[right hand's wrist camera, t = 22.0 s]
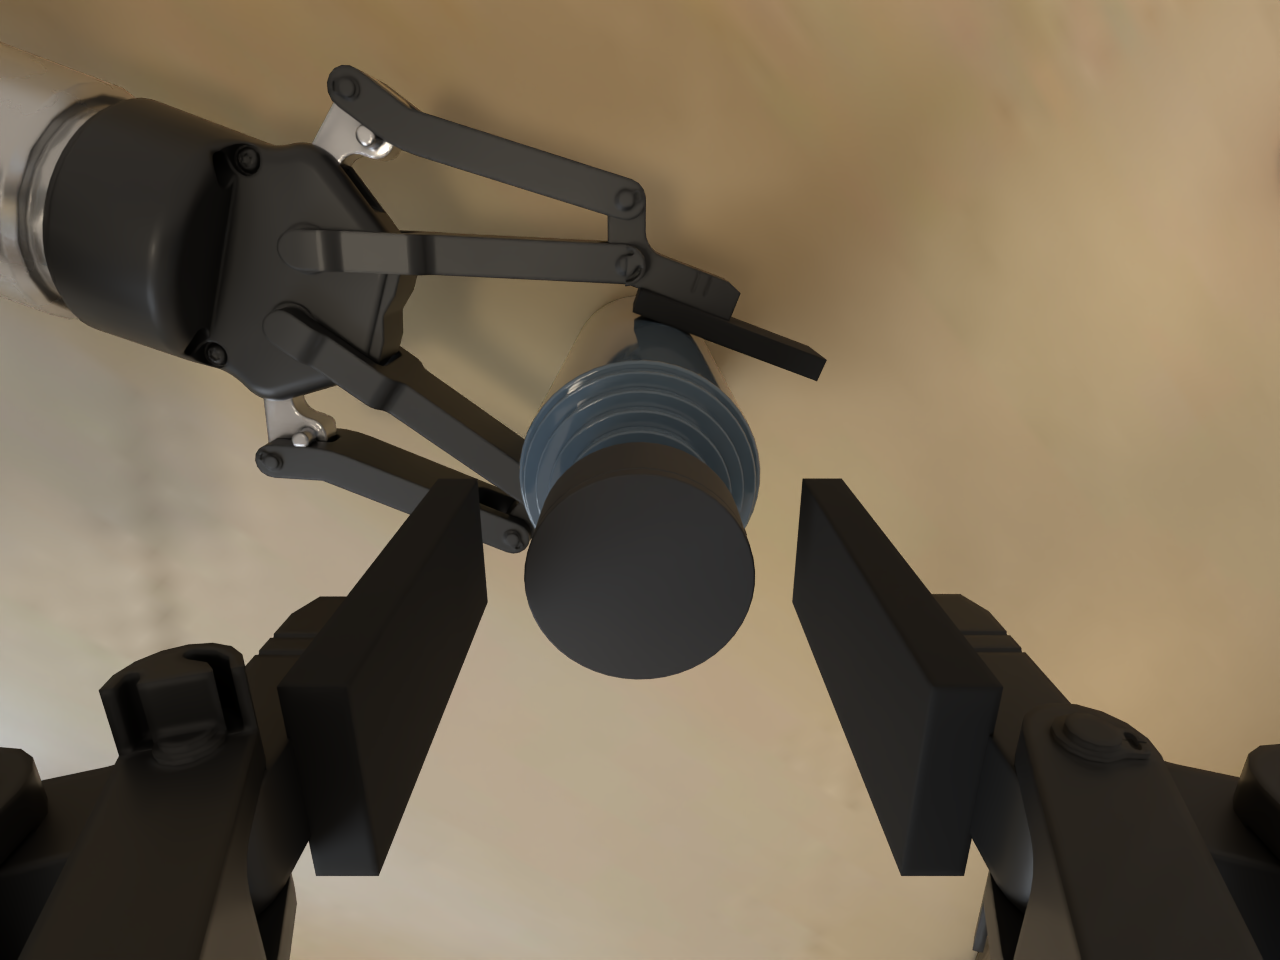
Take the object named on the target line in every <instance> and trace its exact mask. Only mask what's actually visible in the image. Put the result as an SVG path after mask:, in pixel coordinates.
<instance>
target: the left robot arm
mask: <svg viewBox="0 0 1280 960" xmlns="http://www.w3.org/2000/svg"><path fill="white" fill-rule="evenodd" d="M327 87H328V93H329V95H330V97H331V100H332V101H333V102H334V103H333V105H332V106H331V108H330V110H329V112H328V114H327V116H326V118H325V120H324V122H323V124H322V125H321V127H320V129H319V131H318V133H317V135H316V137H315V139H314V141H313V143H312V144H310V143H294V144H288V145H280V146H276V145H272V144H269V143H266V142H264V141H261V140H259V139H256V138H253V137H251V136H248V135H245V134H243V133H240V132H237V131H235V130H232V129H229V128H227V127H224V126H222V125H219V124H216V123H214V122H211V121H208V120H206V119H203V118H200V117H198V116H195V115H192V114H190V113H187V112H184V111H182V110H179V109H177V108H174V107H171V106H169V105H166V104H163V103H161V102H158V101H155V100H152V99H146V98H135V97H134V96H132V95H131V94H130V93H129V92H127V91H126V90H125V89H123V88H121V87H119V86H116V85H113V84H111V83H108V82H105V81H103V80H100V79H97V78H95V77H92V76H89V75H87V74H84V73H81V72H79V71H76V70H73V69H71V68H68V67H66V66H63V65H60V64H58V63H55V62H52V61H50V60H47V59H44V58H42V57H39V56H36V55H34V54H31V53H28V52H26V51H23V50H20V49H18V48H15V47H13V46H10V45H7V44H5V43H2V42H0V297H3V298H6V299H9V300H12V301H14V302H17V303H20V304H23V305H26V306H29V307H31V308H34V309H37V310H40V311H43V312H45V313H48V314H51V315H55V316H59V317H63V318H66V319H79V320H81V321H82V322H84V323H85V324H87V325H88V326H90V327H93V328H95V329H97V330H100V331H103V332H106V333H109V334H112V335H115V336H118V337H121V338H124V339H127V340H130V341H133V342H136V343H139V344H142V345H145V346H148V347H151V348H154V349H157V350H160V351H163V352H165V353H168V354H171V355H174V356H177V357H180V358H183V359H186V360H189V361H193V362H196V363H200V364H204V365H208V366H211V367H215V368H219V369H221V370H224V371H226V372H228V373H229V374H231V375H233V376H234V377H235V378H237V379H238V380H239V381H240V382H242V383H243V384H244V385H245V386H246V387H247V388H248V389H249V390H250V391H251V392H253V393H254V394H256V395H257V396H259V397H262V398H264V405H265V414H266V422H267V431H268V440H269V443H268V444H266V445H265V446H263V447H261V448H260V449H259V450H258V451H257V453H256V457H255V461H256V464H257V467H258V468H259V469H260V471H261V472H262V473H264V474H266V475H267V476H270V477H274V478H289V479H305V480H321V481H325V482H328V483H330V484H333V485H335V486H338V487H341V488H343V489H346V490H348V491H351V492H353V493H356V494H359V495H361V496H364V497H366V498H369V499H371V500H374V501H377V502H379V503H382V504H384V505H387V506H389V507H392V508H395V509H397V510H400V511H402V512H405V513H407V514H411V513H412V512H413V511H414V509H415V508H416V507H417V505H418V504H419V503H420V502H421V500H422V499H423V498H424V496H425V495H426V494H427V493H428V491H429V490H430V489H431V487H432V486H433V485H434V484H435V482H436V481H437V480H438V479H476V478H473V477H471V476H468V475H466V474H463V473H461V472H458V471H456V470H453V469H451V468H448V467H446V466H443V465H441V464H438V463H436V462H433V461H431V460H428V459H426V458H423V457H421V456H418V455H416V454H413V453H411V452H408V451H406V450H403V449H401V448H398V447H396V446H393V445H391V444H388V443H386V442H383V441H381V440H378V439H376V438H373V437H371V436H368V435H365V434H362V433H359V432H355V431H351V430H347V429H339V428H336V422H335V420H334V418H333V417H331V416H329V415H326V414H325V413H321V412H318V411H315V410H314V409H312V408H311V407H310V406H309V405H308V404H307V402H306V400H305V398H304V395H305V394H309V393H312V392H316V391H319V390H323V389H326V388H329V387H333V386H336V385H338V386H339V387H341V388H342V389H344V390H345V391H347V392H348V393H350V394H351V395H353V396H354V397H356V398H357V399H358V400H360V401H361V402H363V403H364V404H366V405H368V406H369V407H371V408H374V409H378V410H383V411H386V412H388V413H390V414H391V415H393V416H394V417H396V418H397V419H398V420H400V421H401V422H403V423H404V424H406V425H407V426H409V427H410V428H412V429H413V430H415V431H416V432H417V433H419V434H420V435H422V436H423V437H425V438H426V439H428V440H429V441H431V442H432V443H434V444H435V445H437V446H438V447H439V448H441V449H442V450H444V451H445V452H447V453H448V454H450V455H451V456H453V457H454V458H456V459H457V460H458V461H460V462H461V463H463V464H464V465H466V466H467V467H469V468H470V469H472V470H473V471H475V472H476V473H477V474H479V475H480V476H482V477H483V478H485V479H486V480H488V481H489V482H491V483H492V484H494V485H495V486H493V485H491V484H488V483H486V482H483V481H481V480H478V479H477V481H478V493H479V505H480V517H481V529H482V541H483V543H485V544H487V545H490V546H492V547H495V548H498V549H500V550H503V551H505V552H509V553H519V552H521V551H523V550H525V548H526V547H527V546H528V544H529V541H530V539H531V538H532V537H533V534H534V531H535V528H534V527H533V525H532V523H531V521H530V519H529V517H528V514H527V512H526V509H525V507H524V503H523V499H522V495H521V490H520V480H519V469H520V458H521V452H522V447H523V444H524V441H525V439H523V438H522V437H520V436H519V435H517V434H516V433H515V432H513V431H512V430H510V429H509V428H508V427H506V426H505V425H503V424H502V423H500V422H499V421H498V420H496V419H495V418H493V417H492V416H491V415H489V414H488V413H486V412H485V411H484V410H482V409H481V408H479V407H478V406H476V405H475V404H474V403H472V402H471V401H469V400H468V399H467V398H465V397H464V396H462V395H461V394H459V393H458V392H457V391H455V390H454V389H452V388H451V387H450V386H448V385H447V384H445V383H444V382H442V381H441V380H440V379H438V378H437V377H435V376H434V375H433V374H431V373H430V372H428V371H427V370H426V369H425V368H424V367H423V365H422V363H421V362H420V361H419V360H418V359H417V358H416V357H415V356H413V355H412V354H410V353H409V352H408V351H406V350H405V349H403V348H402V347H401V346H400V343H401V339H402V335H403V307H404V306H405V304H406V302H407V300H408V299H409V297H410V295H411V293H412V292H413V290H414V286H415V282H416V278H417V275H448V276H468V277H489V278H510V279H530V280H551V281H571V282H592V283H612V284H625V286H630V285H631V286H633V287H636V288H638V291H637V294H636V297H635V299H634V302H633V313H636V314H638V315H641V316H644V317H646V318H649V319H652V320H654V321H657V322H660V323H662V324H665V325H668V326H671V327H673V328H676V329H679V330H681V331H684V332H687V333H689V334H692V335H695V336H697V337H700V338H703V339H705V340H708V341H711V342H713V343H716V344H719V345H721V346H724V347H727V348H729V349H732V350H735V351H737V352H740V353H743V354H746V355H748V356H751V357H754V358H756V359H759V360H762V361H764V362H767V363H770V364H772V365H775V366H778V367H780V368H783V369H786V370H788V371H791V372H794V373H796V374H799V375H802V376H804V377H807V378H810V379H813V380H815V381H817V380H818V378H819V376H820V374H821V371H822V369H823V367H824V365H825V363H826V361H827V360H826V359H825V358H823V357H822V356H821V355H819V354H818V353H817V352H815V351H814V350H813V349H812V348H810V347H809V346H807V345H804V344H801V343H799V342H796V341H793V340H791V339H788V338H786V337H783V336H780V335H778V334H775V333H772V332H770V331H767V330H764V329H762V328H759V327H756V326H754V325H751V324H749V323H746V322H743V321H741V320H738V319H735V318H733V317H731V316H732V313H733V311H734V308H735V306H736V303H737V301H738V298H739V296H740V292H739V291H738V290H737V289H735V288H734V287H733V286H732V285H731V284H730V283H729V282H728V281H727V280H725V279H724V278H721V277H719V276H716V275H713V274H711V273H708V272H706V271H703V270H700V269H698V268H695V267H693V266H690V265H687V264H685V263H682V262H680V261H677V260H674V259H672V258H669V257H667V256H664V255H661V254H659V253H658V252H656V251H655V250H653V249H652V248H651V246H650V245H649V243H648V241H647V238H646V196H645V193H644V189H643V188H642V187H641V186H640V184H639V183H637V182H636V181H634V180H632V179H629V178H626V177H623V176H620V175H617V174H614V173H611V172H608V171H604V170H601V169H598V168H595V167H592V166H589V165H586V164H583V163H579V162H576V161H573V160H570V159H567V158H564V157H561V156H557V155H554V154H551V153H548V152H545V151H542V150H539V149H536V148H532V147H529V146H526V145H523V144H520V143H517V142H514V141H511V140H507V139H504V138H501V137H498V136H495V135H492V134H489V133H486V132H482V131H479V130H476V129H473V128H470V127H467V126H464V125H461V124H457V123H454V122H451V121H448V120H445V119H442V118H439V117H436V116H432V115H429V114H426V113H423V112H421V111H420V110H419V109H417V108H416V107H415V106H413V105H412V104H411V103H410V102H408V101H407V100H406V99H404V98H403V97H402V96H400V95H399V94H398V93H397V92H395V91H394V90H393V89H391V88H390V87H389V86H387V85H386V84H384V83H382V82H381V81H379V80H377V79H375V78H373V77H371V76H370V75H368V74H366V73H364V72H362V71H360V70H358V69H356V68H354V67H352V66H350V65H341V66H338V67H336V68H334V69H333V71H332V72H331V73H330V74H329V78H328V81H327ZM401 150H403V151H406V152H409V153H411V154H414V155H417V156H420V157H423V158H426V159H429V160H432V161H436V162H439V163H442V164H445V165H448V166H451V167H455V168H458V169H461V170H464V171H467V172H471V173H474V174H477V175H480V176H483V177H487V178H490V179H493V180H496V181H499V182H503V183H506V184H509V185H512V186H515V187H518V188H522V189H525V190H528V191H531V192H534V193H538V194H541V195H544V196H547V197H550V198H554V199H557V200H560V201H563V202H566V203H569V204H573V205H576V206H579V207H582V208H585V209H589V210H592V211H595V212H598V213H601V214H605V215H608V241H595V240H575V239H554V238H534V237H514V236H494V235H474V234H454V233H442V232H422V231H402V230H399V229H398V228H397V227H396V225H395V224H394V223H393V221H392V220H391V219H390V217H389V216H388V215H387V213H386V212H385V211H384V209H383V208H382V207H381V205H380V204H379V203H378V201H377V200H376V199H375V197H374V196H373V195H372V193H371V192H370V191H369V189H368V188H367V187H366V185H365V184H364V183H363V181H362V180H361V178H360V177H359V176H358V174H357V173H356V172H355V170H354V169H353V168H352V166H351V165H352V164H353V163H354V161H355V160H357V159H358V158H360V157H364V156H366V157H369V158H371V159H376V160H380V161H390V160H393V159H395V158H396V157H397V156H398V155H399V154H400V152H401ZM496 486H497V487H496ZM744 530H745V529H744ZM745 533H746V531H745ZM746 535H747V534H746Z"/></svg>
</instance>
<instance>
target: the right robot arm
mask: <svg viewBox="0 0 1280 960" xmlns="http://www.w3.org/2000/svg"><path fill="white" fill-rule="evenodd" d="M487 602H488V600H487V588H486V577H485V565H484V553H483V541H482V529H481V517H480V505H479V493H478V481H477V479H438V480H437V481H436V482H435V484H434V485H433V486H432V487H431V489H430V490H429V491H428V493H427V494H426V495H425V496H424V498H423V499H422V500H421V502H420V503H419V504H418V505H417V507H416V508H415V509H414V511H413V512H412V513H411V514H410V516H409V517H408V518H407V520H406V521H405V522H404V523H403V525H402V526H401V527H400V529H399V530H398V531H397V532H396V534H395V535H394V536H393V538H392V539H391V540H390V541H389V543H388V544H387V545H386V547H385V548H384V549H383V551H382V552H381V553H380V554H379V556H378V557H377V558H376V560H375V561H374V562H373V563H372V565H371V566H370V567H369V569H368V570H367V571H366V572H365V574H364V575H363V576H362V578H361V579H360V580H359V581H358V583H357V584H356V585H355V587H354V588H353V589H352V590H351V592H350V593H349V594H348V596H347V597H319V598H317V599H315V600H314V601H312V602H310V603H309V604H307V605H305V606H304V607H302V608H300V609H299V610H297V611H295V612H294V613H292V614H291V615H290V616H289V617H288V619H287V620H286V621H285V622H284V623H283V624H282V625H281V626H280V628H279V629H278V630H277V631H276V632H275V633H274V638H270V639H269V640H268V641H267V642H266V643H265V645H264V646H263V647H262V648H261V649H260V650H259V655H255V656H254V657H253V658H252V659H251V660H250V662H249V663H248V664H247V665H246V666H245V664H244V660H243V655H242V654H241V653H240V652H239V651H237V650H236V649H235V648H233V647H232V646H227V645H222V644H216V643H203V644H188V645H184V646H180V647H176V648H172V649H168V650H163V651H160V652H158V653H155V654H153V655H150V656H148V657H145V658H143V659H140V660H138V661H135V662H134V663H132V664H131V665H129V666H127V667H126V668H124V669H123V670H121V671H119V672H118V673H116V674H114V675H113V676H112V677H111V678H110V679H109V680H108V681H107V682H106V683H105V684H104V685H103V687H102V688H101V689H100V690H99V693H100V696H101V699H102V702H103V706H104V709H105V712H106V715H107V718H108V722H109V725H110V728H111V731H112V734H113V738H114V741H115V744H116V747H117V750H118V754H119V757H118V759H117V761H116V763H115V765H112V766H108V767H104V768H99V769H95V770H90V771H85V772H80V773H76V774H71V775H66V776H61V777H56V778H52V779H47V780H42V781H41V779H40V776H39V773H38V770H37V768H36V765H35V762H34V760H33V757H32V756H30V755H29V754H27V753H26V752H24V751H23V750H22V749H15V748H3V747H0V960H289V959H290V951H291V944H292V936H293V929H294V921H295V913H296V906H297V901H296V893H295V887H294V882H293V878H292V871H293V869H294V867H295V865H296V863H297V861H298V860H299V858H300V856H301V854H302V852H303V850H304V848H305V846H306V845H307V843H308V841H309V844H310V849H311V854H312V859H313V864H314V868H315V873H316V876H379V874H380V871H381V869H382V866H383V864H384V861H385V859H386V856H387V854H388V851H389V849H390V846H391V844H392V841H393V839H394V836H395V834H396V831H397V828H398V826H399V823H400V821H401V818H402V816H403V813H404V811H405V808H406V806H407V803H408V801H409V798H410V796H411V793H412V791H413V788H414V786H415V783H416V781H417V778H418V776H419V773H420V771H421V768H422V766H423V763H424V761H425V758H426V756H427V753H428V751H429V748H430V746H431V743H432V741H433V738H434V736H435V733H436V731H437V728H438V725H439V723H440V720H441V718H442V715H443V713H444V710H445V708H446V705H447V703H448V700H449V698H450V695H451V693H452V690H453V688H454V685H455V683H456V680H457V678H458V675H459V673H460V670H461V668H462V665H463V663H464V660H465V658H466V655H467V653H468V650H469V648H470V645H471V643H472V640H473V638H474V635H475V633H476V630H477V628H478V625H479V622H480V620H481V617H482V615H483V612H484V610H485V607H486V605H487ZM792 602H793V605H794V607H795V610H796V612H797V615H798V617H799V620H800V622H801V625H802V628H803V630H804V633H805V635H806V638H807V640H808V643H809V645H810V648H811V650H812V653H813V655H814V658H815V660H816V663H817V665H818V668H819V670H820V673H821V675H822V678H823V680H824V683H825V685H826V688H827V690H828V693H829V695H830V698H831V700H832V703H833V705H834V708H835V710H836V713H837V715H838V718H839V720H840V723H841V726H842V728H843V731H844V733H845V736H846V738H847V741H848V743H849V746H850V748H851V751H852V753H853V756H854V758H855V761H856V763H857V766H858V768H859V771H860V773H861V776H862V778H863V781H864V783H865V786H866V788H867V791H868V793H869V796H870V798H871V801H872V803H873V806H874V808H875V811H876V813H877V816H878V818H879V821H880V823H881V826H882V829H883V831H884V834H885V836H886V839H887V841H888V844H889V846H890V849H891V851H892V854H893V856H894V859H895V861H896V864H897V866H898V869H899V871H900V874H901V876H964V873H965V868H966V864H967V859H968V854H969V849H970V844H971V840H972V839H973V841H974V843H975V845H976V846H977V848H978V850H979V852H980V854H981V856H982V858H983V860H984V861H985V863H986V865H987V867H988V869H989V873H988V878H987V882H986V887H985V891H984V895H983V900H982V904H981V909H980V913H979V918H978V922H977V927H976V931H975V937H974V944H973V950H974V951H978V955H977V957H976V960H1280V744H1274V745H1263V746H1259V747H1258V748H1256V749H1255V750H1253V751H1252V752H1251V753H1249V754H1248V757H1247V759H1246V762H1245V765H1244V768H1243V770H1242V773H1241V776H1240V777H1235V776H1230V775H1225V774H1220V773H1216V772H1211V771H1206V770H1201V769H1196V768H1192V767H1187V766H1182V765H1177V764H1173V763H1169V762H1166V761H1164V760H1163V758H1162V756H1161V754H1160V753H1159V752H1158V750H1157V749H1156V748H1155V747H1154V745H1153V744H1152V743H1151V742H1150V740H1149V739H1148V738H1147V737H1145V736H1144V735H1143V734H1141V733H1140V732H1138V731H1137V730H1136V729H1134V728H1133V727H1132V726H1130V725H1129V724H1127V723H1125V722H1123V721H1121V720H1119V719H1117V718H1115V717H1113V716H1111V715H1108V714H1106V713H1104V712H1102V711H1098V710H1095V709H1091V708H1087V707H1084V706H1080V705H1077V704H1071V703H1070V702H1069V701H1068V700H1067V699H1066V698H1065V696H1064V695H1063V694H1062V693H1061V692H1060V691H1059V690H1058V689H1057V688H1056V686H1055V685H1054V684H1053V683H1052V682H1051V681H1050V680H1049V679H1048V677H1047V676H1046V675H1045V674H1044V673H1043V672H1042V671H1041V670H1040V668H1039V667H1038V666H1037V665H1036V664H1035V663H1034V662H1033V661H1032V659H1031V658H1030V657H1029V656H1028V655H1027V654H1026V653H1025V652H1022V651H1021V647H1020V646H1019V645H1018V644H1017V643H1016V641H1015V640H1014V639H1013V638H1012V637H1011V636H1010V635H1007V631H1006V630H1005V629H1004V628H1003V627H1002V626H1001V625H1000V623H999V622H998V621H997V620H996V619H995V618H994V617H993V616H992V614H991V613H990V612H989V611H987V610H986V609H984V608H982V607H981V606H979V605H977V604H976V603H974V602H972V601H971V600H969V599H967V598H966V597H964V596H962V595H961V594H931V593H930V592H929V590H928V589H927V588H926V587H925V585H924V584H923V583H922V581H921V580H920V579H919V578H918V576H917V575H916V574H915V572H914V571H913V570H912V569H911V567H910V566H909V565H908V563H907V562H906V561H905V560H904V558H903V557H902V556H901V554H900V553H899V552H898V551H897V549H896V548H895V547H894V545H893V544H892V543H891V542H890V540H889V539H888V538H887V536H886V535H885V534H884V533H883V531H882V530H881V529H880V527H879V526H878V525H877V523H876V522H875V521H874V520H873V518H872V517H871V516H870V514H869V513H868V512H867V511H866V509H865V508H864V507H863V505H862V504H861V503H860V502H859V500H858V499H857V498H856V496H855V495H854V494H853V493H852V491H851V490H850V489H849V487H848V486H847V485H846V484H845V482H844V481H843V480H842V479H803V481H802V493H801V505H800V517H799V529H798V541H797V553H796V564H795V576H794V588H793V600H792ZM987 936H988V937H987ZM986 938H987V939H986Z"/></svg>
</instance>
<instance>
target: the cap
mask: <svg viewBox="0 0 1280 960" xmlns="http://www.w3.org/2000/svg"><path fill="white" fill-rule="evenodd" d="M524 582H525V591H526V596H527V600H528V604H529V607H530V609H531V612H532V614H533V616H534V619H535V620H536V622H537V624H538V625H539V627H540V629H541V630H542V632H543V633H544V634H545V635H546V637H547V638H548V639H549V641H550V642H551V643H552V644H553V645H554V646H555V647H556V648H557V649H558V650H560V651H561V652H562V653H563V654H565V655H566V656H567V657H569V658H570V659H572V660H573V661H575V662H577V663H578V664H580V665H582V666H584V667H586V668H588V669H591V670H593V671H595V672H599V673H602V674H605V675H608V676H613V677H618V678H625V679H654V678H661V677H667V676H670V675H674V674H678V673H681V672H683V671H686V670H689V669H691V668H693V667H695V666H697V665H699V664H701V663H703V662H705V661H706V660H708V659H709V658H710V657H712V656H713V655H715V654H716V653H717V652H718V651H719V650H721V649H722V648H723V647H724V646H725V645H726V644H727V643H728V642H729V641H730V640H731V638H732V637H733V636H734V635H735V634H736V632H737V631H738V629H739V628H740V626H741V625H742V623H743V621H744V619H745V617H746V615H747V613H748V610H749V607H750V604H751V601H752V598H753V592H754V586H755V567H754V559H753V555H752V552H751V548H750V544H749V541H748V539H747V536H746V533H745V530H744V527H743V524H742V521H741V518H740V515H739V512H738V509H737V506H736V504H735V501H734V499H733V497H732V495H731V493H730V491H729V490H728V488H727V487H726V485H725V483H724V482H723V481H722V480H721V479H720V477H719V476H718V475H717V474H716V473H715V472H714V471H713V470H712V469H711V468H710V467H708V466H707V465H706V464H705V463H703V462H702V461H700V460H699V459H697V458H696V457H694V456H692V455H690V454H688V453H686V452H684V451H682V450H679V449H676V448H674V447H671V446H667V445H662V444H658V443H648V442H630V443H623V444H617V445H613V446H609V447H606V448H602V449H600V450H598V451H595V452H593V453H591V454H589V455H587V456H585V457H584V458H582V459H580V460H579V461H577V462H576V463H575V464H574V465H572V466H571V467H570V468H569V469H567V470H566V471H565V472H564V473H563V475H562V476H561V477H560V478H559V479H558V480H557V481H556V483H555V484H554V486H553V487H552V488H551V490H550V492H549V494H548V496H547V498H546V500H545V502H544V505H543V508H542V510H541V513H540V516H539V519H538V522H537V525H536V528H535V531H534V534H533V537H532V540H531V543H530V546H529V549H528V552H527V557H526V562H525V573H524Z"/></svg>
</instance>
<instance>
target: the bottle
mask: <svg viewBox="0 0 1280 960" xmlns="http://www.w3.org/2000/svg"><path fill="white" fill-rule="evenodd" d="M635 297H636V296H630V297H624V298H621V299H618V300H615V301H613V302H610V303H608V304H606V305H605V306H603V307H602V308H600V309H599V310H598V311H597V312H595V313H594V314H593V315H592V316H591V317H590V318H589V319H588V321H587V322H586V323H585V325H584V326H583V328H582V329H581V331H580V333H579V335H578V337H577V339H576V341H575V342H574V344H573V346H572V348H571V350H570V352H569V354H568V356H567V358H566V359H565V361H564V363H563V365H562V367H561V369H560V371H559V373H558V374H557V376H556V378H555V380H554V382H553V384H552V386H551V388H550V390H549V391H548V393H547V395H546V397H545V399H544V401H543V403H542V405H541V407H540V408H539V410H538V412H537V414H536V416H535V418H534V420H533V422H532V424H531V426H530V428H529V430H528V432H527V435H526V438H525V441H524V444H523V447H522V452H521V458H520V469H519V480H520V490H521V495H522V499H523V503H524V507H525V509H526V512H527V514H528V517H529V519H530V521H531V523H532V525H533V527H534V528H536V525H537V522H538V519H539V516H540V513H541V510H542V508H543V505H544V502H545V500H546V498H547V496H548V494H549V492H550V490H551V488H552V487H553V486H554V484H555V483H556V481H557V480H558V479H559V478H560V477H561V476H562V475H563V473H564V472H565V471H566V470H567V469H569V468H570V467H571V466H572V465H574V464H575V463H576V462H577V461H579V460H580V459H582V458H584V457H585V456H587V455H589V454H591V453H593V452H595V451H598V450H600V449H602V448H606V447H609V446H613V445H617V444H623V443H630V442H648V443H658V444H662V445H667V446H671V447H674V448H676V449H679V450H682V451H684V452H686V453H688V454H690V455H692V456H694V457H696V458H697V459H699V460H700V461H702V462H703V463H705V464H706V465H707V466H708V467H710V468H711V469H712V470H713V471H714V472H715V473H716V474H717V475H718V476H719V477H720V479H721V480H722V481H723V482H724V483H725V485H726V487H727V488H728V490H729V491H730V493H731V495H732V497H733V499H734V501H735V504H736V506H737V509H738V512H739V515H740V518H741V521H742V524H743V527H744V529H745V527H746V526H747V524H748V522H749V520H750V517H751V515H752V513H753V511H754V507H755V504H756V501H757V497H758V491H759V485H760V463H759V454H758V450H757V446H756V442H755V439H754V436H753V434H752V432H751V429H750V427H749V424H748V423H747V421H746V419H745V417H744V415H743V413H742V411H741V409H740V407H739V406H738V404H737V402H736V400H735V398H734V396H733V394H732V392H731V390H730V389H729V387H728V385H727V383H726V381H725V379H724V377H723V375H722V373H721V372H720V370H719V368H718V366H717V364H716V362H715V360H714V358H713V356H712V355H711V353H710V351H709V349H708V347H707V345H706V343H705V341H704V339H703V338H700V337H697V336H695V335H692V334H689V333H687V332H684V331H681V330H679V329H676V328H673V327H671V326H668V325H665V324H662V323H660V322H657V321H654V320H652V319H649V318H646V317H644V316H641V315H638V314H636V313H633V302H634V299H635Z"/></svg>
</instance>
